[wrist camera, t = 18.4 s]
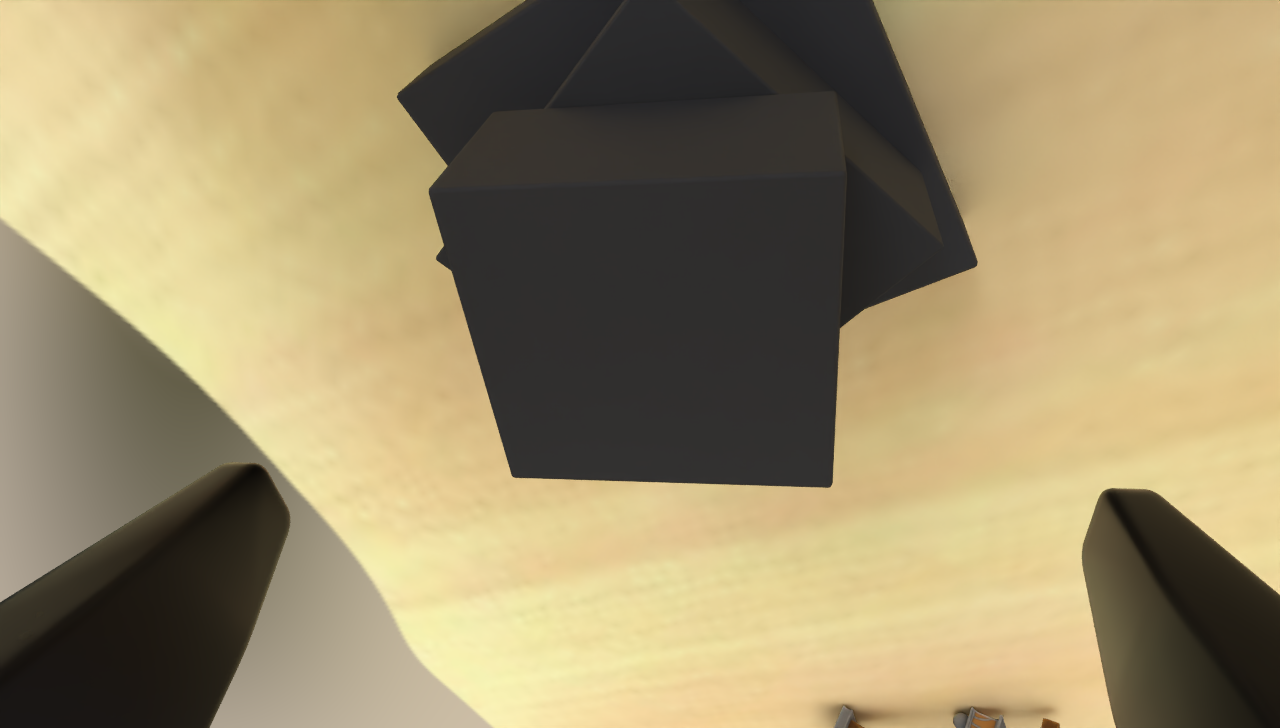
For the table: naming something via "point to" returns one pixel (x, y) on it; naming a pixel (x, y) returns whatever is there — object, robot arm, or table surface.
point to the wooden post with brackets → (976, 724)
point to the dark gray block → (656, 286)
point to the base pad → (786, 3)
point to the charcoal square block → (752, 66)
